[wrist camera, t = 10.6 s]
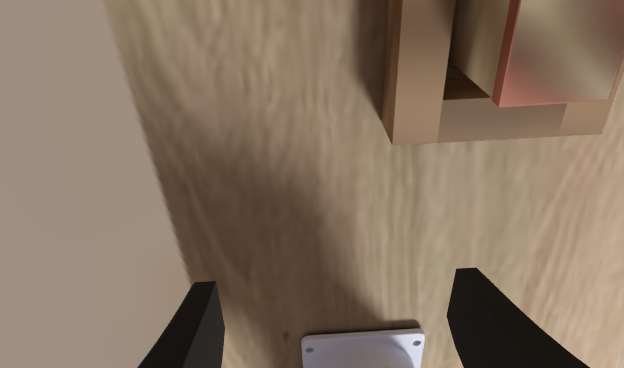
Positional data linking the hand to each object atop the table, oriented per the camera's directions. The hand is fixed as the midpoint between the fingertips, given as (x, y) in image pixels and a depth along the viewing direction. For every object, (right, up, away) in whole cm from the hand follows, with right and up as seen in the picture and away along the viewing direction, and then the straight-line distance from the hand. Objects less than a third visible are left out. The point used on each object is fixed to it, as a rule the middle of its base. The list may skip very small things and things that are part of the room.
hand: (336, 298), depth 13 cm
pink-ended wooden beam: (+7, +11, +5) cm, 14 cm away
